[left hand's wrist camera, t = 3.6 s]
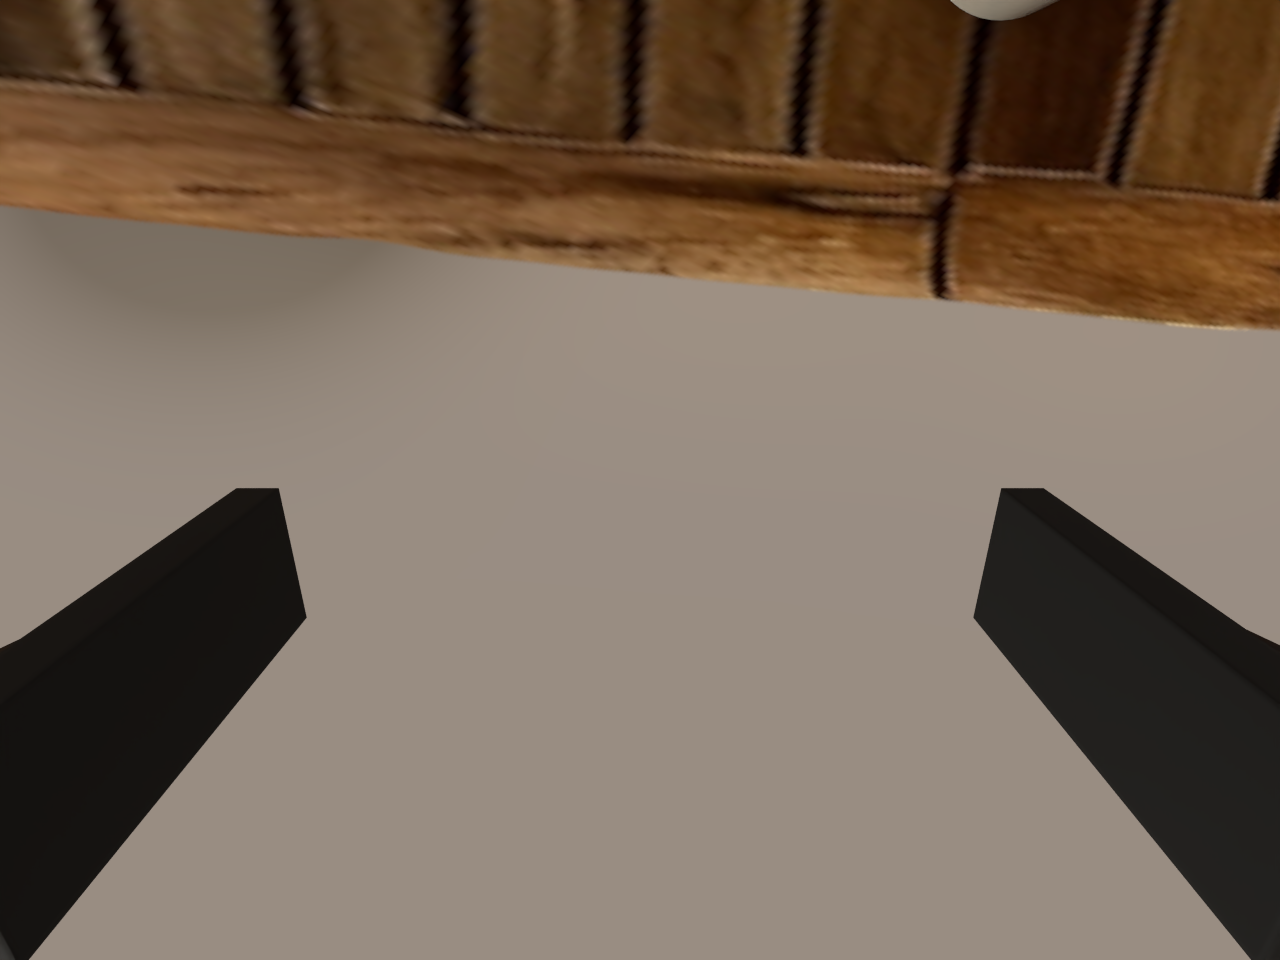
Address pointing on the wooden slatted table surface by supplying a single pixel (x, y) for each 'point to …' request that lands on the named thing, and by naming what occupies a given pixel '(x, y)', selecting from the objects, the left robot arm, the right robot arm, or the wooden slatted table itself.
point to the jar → (1002, 8)
